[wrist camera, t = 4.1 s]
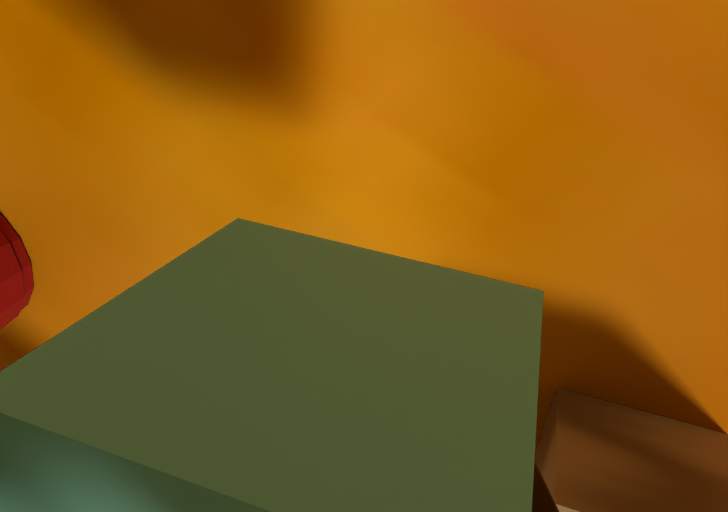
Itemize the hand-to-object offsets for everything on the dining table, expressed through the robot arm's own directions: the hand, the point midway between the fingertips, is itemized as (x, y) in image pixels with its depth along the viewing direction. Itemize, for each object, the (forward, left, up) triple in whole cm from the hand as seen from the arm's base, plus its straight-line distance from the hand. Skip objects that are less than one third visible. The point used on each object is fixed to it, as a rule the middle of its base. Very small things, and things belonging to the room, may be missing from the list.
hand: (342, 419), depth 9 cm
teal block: (0, 0, -1) cm, 1 cm away
